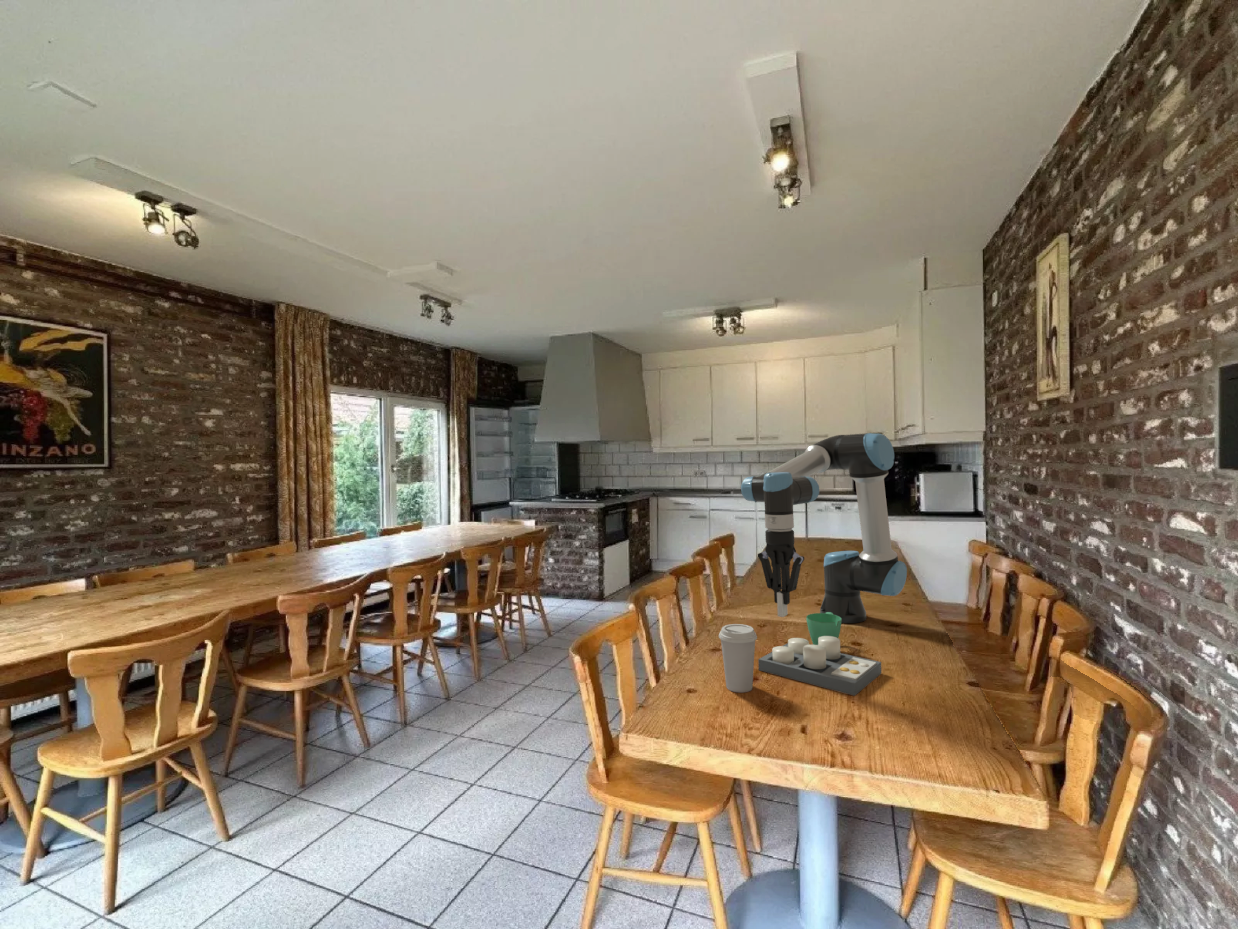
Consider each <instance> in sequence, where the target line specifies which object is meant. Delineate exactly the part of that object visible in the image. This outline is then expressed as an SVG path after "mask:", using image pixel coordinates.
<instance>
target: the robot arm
mask: <svg viewBox="0 0 1238 929" xmlns="http://www.w3.org/2000/svg"><path fill="white" fill-rule="evenodd" d="M894 463H895V451H894V447H893V444H892V442H891V440H890V439H889V438H888V437H887V435H885V434H883V433H871V432H869V433H868V432H867V433H865V432H864V433H855V434H854V433H853V434H852V433H850V434H837V435H834V436H829V437H827V438H824V439H822V440H820V441H817V442H815V443H814V444H812V445H809V446H808V447H807V448H806V449H805V450H804V452H803V453H801V454H799V455H798V456H796V457H794V458H792V459H790V460H788V461H786V462H784V463H782V464H781V465H779V466H777V467H775V468H773V469H771V470H769V471H767V472H766V473H764V474H761V475H760V476H753V475H752V476H747V477H745V478H744V479H743V481H742V482H741V485H740V486H741V487H740V490H741V495H742V497H743V499H744V500H745V501H748V502H754V503H764V527H765V529H766V530H765V533H764V534H765V535H764V536H765V543H766V546H765V548H764V550H763V551H762V552H759V553H758V554H757V557H758V559H759V561H760V563H761V567H762V571H763V572H762V573H763V575H764V578H765V583H766V586H767V589H770V590H772V591H773V597H774V599H773V600H774V603H775V604H776V606H777V608H776V609H777V617H780V618H784V617H786V616H787V615H788V605H789V604H790V603H791V602H790V601H791V595H790V593H791V592H793V591H795V590H796V589H797V588H798V582H799V577H800V572H801V566H802V563H803V562H804V561H805V556H804V555H800V554H799V553H798V552H797V550H796V548H795V532H794V531H795V530H793V529H794V528H795V522H794V506H795V505H797V506H798V505H802V504H805V505H806V504H808V503H812V502H813V501H815V500H817V498H818V497H819V495H820V485H819V483H818V481H817V480H816V479H814V477H811V476H813V475H815V474H820V473H824V472H826V471H831V470H832V471H833V470H844V471H845V470H846V471H848V473H849V478H850V479H851V480H853V481H854V482H855V491H856V499H857V509H858V515H859V524H860V531H861V541H862V548H863V550H862V551H861V552H859V551H858V550H841V551H833V552H828V553H826V554H825V556H824V557H823V559H824V560H823V572H824V573H823V574H824V575H823V576H824V578H823V579H824V596H823V599H822V603H821V605H820V608H819V613H826V612H831V613H833V615H837V616H839V617H840V618H841V624H842V623H843V624H856V623H861V622H864V621H866V620H867V612H866V611H867V610H866V609H865V605H864V603H863V600H862V597H861V592H864V593H870V594H875V595H881V596H884V597H885V596H888V597H896V596H898V595H899V594H900V593H901V592H902V590H903V589H904V587H905V585H906V580H907V576H908V574H907V573H908V568H907V565H906V564H905V562H904V561H902V560H899V557H898V553H897V552H896V551H895V550H894V549H893V548H892V540H891V533H890V532H891V531H890V523H889V513H888V506H887V498H886V487H885V486H886V485H885V478H886V477H887V476H888V475H889V470H890V469H892V467H893V466H894ZM791 561H792V562H793V563H792V567H791ZM790 567H791V568H790ZM790 570H791V572H790Z"/></svg>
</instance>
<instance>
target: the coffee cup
mask: <svg viewBox="0 0 1238 929" xmlns="http://www.w3.org/2000/svg"><path fill="white" fill-rule="evenodd" d="M718 639H720V642H721V651H722V652H721V653H722V661H723V669H724V677H725V678H724V679H725V686H726V688H727V690H729V691H731V692H734V693H742V694H743V693H748V692H751V691H752V690H753V684H754V669H755V668H754V667H755V662H754V661H755V651H756V650H755V647H756V640H757V639H758V636H757V633H756V631H755V630H754V627H753V626H751V625H747V624H742V623H741V624H740V623H732V624H726V625H723V626H722V627H721V630H720V632H719V634H718Z"/></svg>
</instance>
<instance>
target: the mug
mask: <svg viewBox="0 0 1238 929" xmlns="http://www.w3.org/2000/svg"><path fill="white" fill-rule="evenodd" d="M805 620H806V625H807V629H808V633H809V636H810V638H811V643H812V645H818V638H819V637H821V636H833V637H837V638H839V637H840V634H841V629H842V628H841V627H842V623H841V618H840V617H839V616H837V615H833V613H831V612H826V613H820V612H815V613H810V614H808V615H806V618H805ZM839 639H840V638H839Z"/></svg>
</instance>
